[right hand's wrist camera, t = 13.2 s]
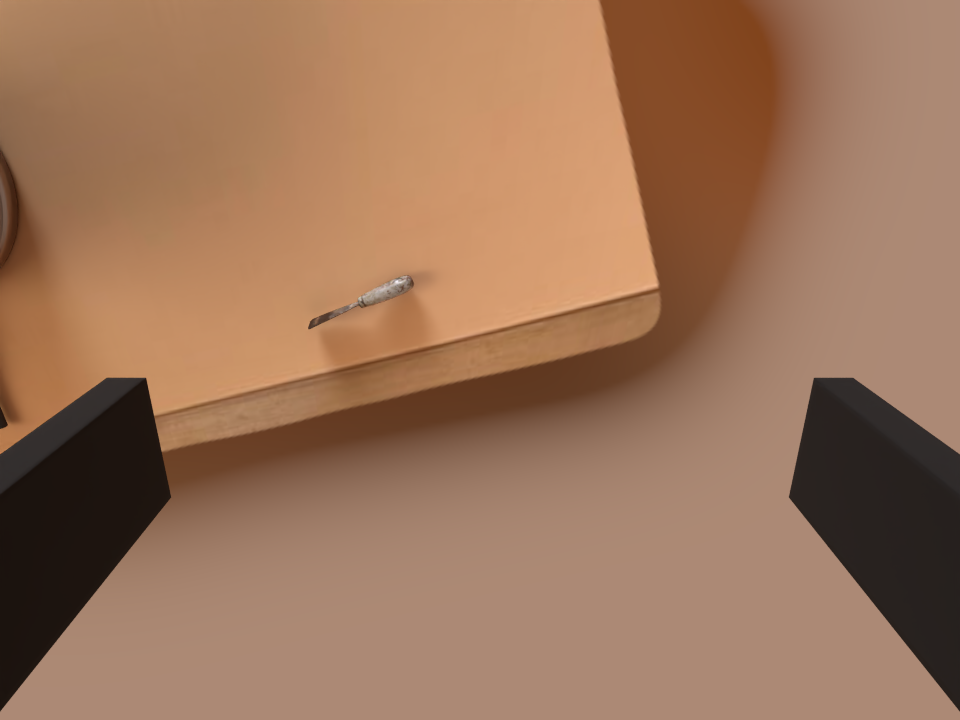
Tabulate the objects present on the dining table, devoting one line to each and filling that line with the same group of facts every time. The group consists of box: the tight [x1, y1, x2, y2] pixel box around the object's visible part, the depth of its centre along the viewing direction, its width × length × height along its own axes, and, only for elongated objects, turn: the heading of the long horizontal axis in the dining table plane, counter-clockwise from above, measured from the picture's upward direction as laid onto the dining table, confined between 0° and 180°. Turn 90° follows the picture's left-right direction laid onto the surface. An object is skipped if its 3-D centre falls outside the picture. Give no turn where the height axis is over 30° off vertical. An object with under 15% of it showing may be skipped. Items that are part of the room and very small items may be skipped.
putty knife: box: [308, 275, 414, 329], centre depth 44 cm, size 1×8×2 cm, turn 114°
